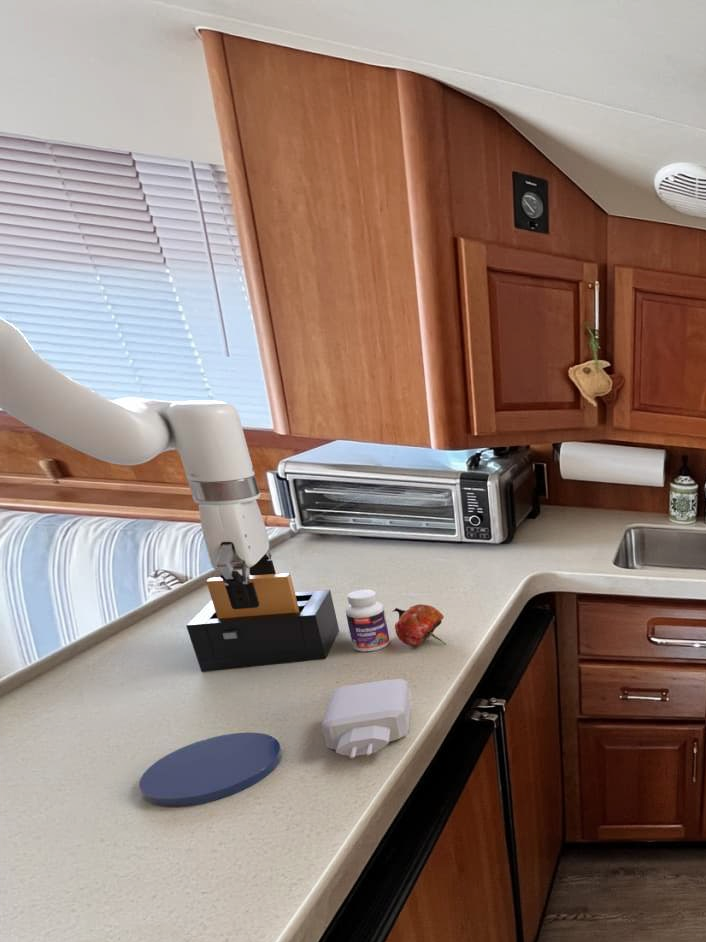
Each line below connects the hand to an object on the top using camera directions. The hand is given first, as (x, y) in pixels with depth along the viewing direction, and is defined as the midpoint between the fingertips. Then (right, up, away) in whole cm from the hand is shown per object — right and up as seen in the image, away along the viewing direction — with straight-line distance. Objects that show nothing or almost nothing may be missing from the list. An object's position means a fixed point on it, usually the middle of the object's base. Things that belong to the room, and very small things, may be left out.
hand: (256, 595), depth 100 cm
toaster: (-2, -9, +6) cm, 11 cm away
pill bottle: (+12, -9, +10) cm, 18 cm away
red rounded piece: (+19, -8, +12) cm, 24 cm away
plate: (+13, -22, -21) cm, 34 cm away
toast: (-1, -8, +3) cm, 9 cm away
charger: (+27, -20, -13) cm, 36 cm away
